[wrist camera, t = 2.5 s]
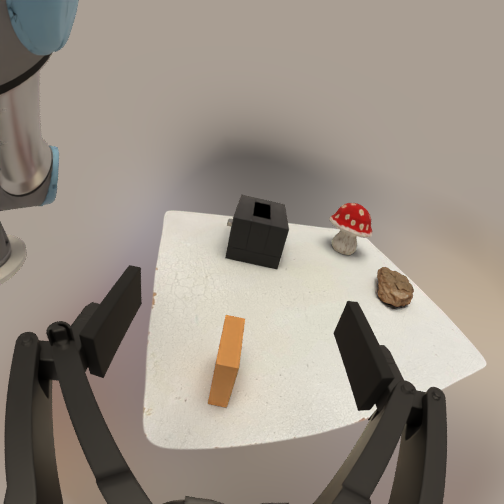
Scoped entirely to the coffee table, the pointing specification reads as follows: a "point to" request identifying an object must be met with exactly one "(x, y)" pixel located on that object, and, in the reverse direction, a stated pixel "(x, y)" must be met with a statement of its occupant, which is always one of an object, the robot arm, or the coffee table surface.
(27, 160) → the robot arm
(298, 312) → the coffee table surface
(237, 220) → the toaster
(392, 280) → the rock
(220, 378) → the toast
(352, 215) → the decorative mushroom
